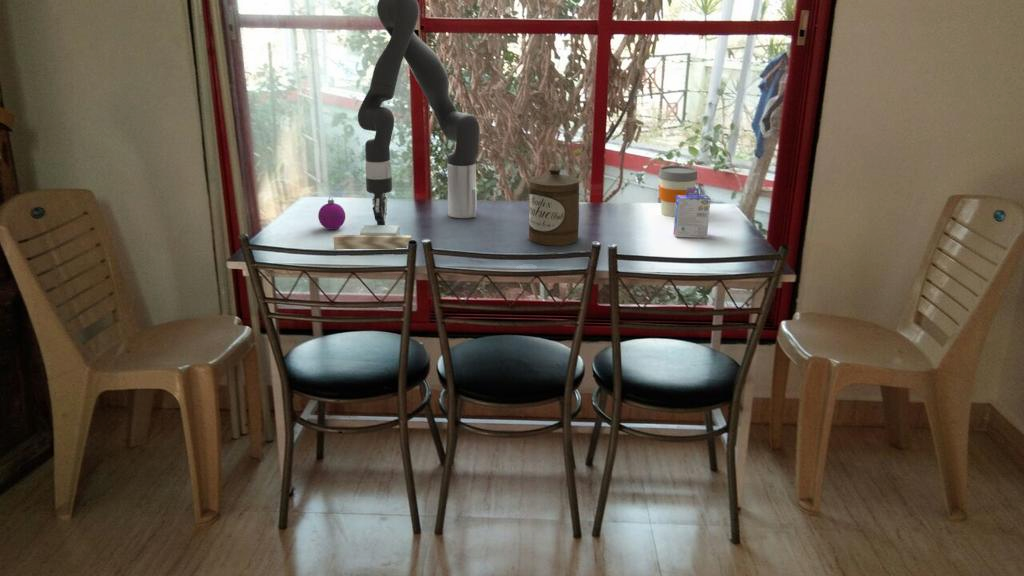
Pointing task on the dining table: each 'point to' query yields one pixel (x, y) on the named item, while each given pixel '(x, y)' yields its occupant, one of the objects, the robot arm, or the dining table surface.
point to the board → (371, 241)
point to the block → (380, 230)
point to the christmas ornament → (331, 215)
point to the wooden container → (554, 208)
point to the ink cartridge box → (691, 215)
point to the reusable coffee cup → (674, 186)
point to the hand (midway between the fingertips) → (381, 232)
